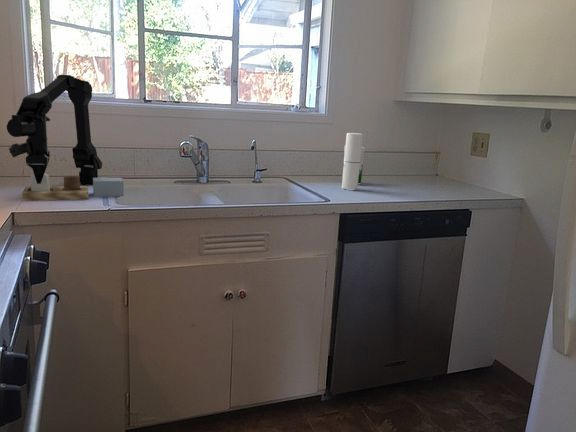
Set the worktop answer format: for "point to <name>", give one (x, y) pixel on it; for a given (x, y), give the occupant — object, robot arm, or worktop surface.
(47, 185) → the eye dropper bottle
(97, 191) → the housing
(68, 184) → the walnut peg
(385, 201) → the worktop surface
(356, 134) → the cylindrical container
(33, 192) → the socket board
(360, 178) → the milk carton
